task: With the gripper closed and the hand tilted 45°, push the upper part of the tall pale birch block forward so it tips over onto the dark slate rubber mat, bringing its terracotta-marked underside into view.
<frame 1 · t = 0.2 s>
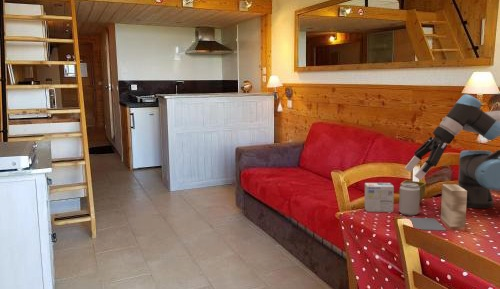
hand: (412, 174, 162), 15 cm above the table, tool tilted 35°, fingers open, 13 cm apart
mat: (421, 224, 148), on the table
light bulb box: (378, 210, 166), on the table
flower pot: (412, 203, 175), on the table
can: (408, 213, 161), on the table
birch block: (452, 225, 146), on the table
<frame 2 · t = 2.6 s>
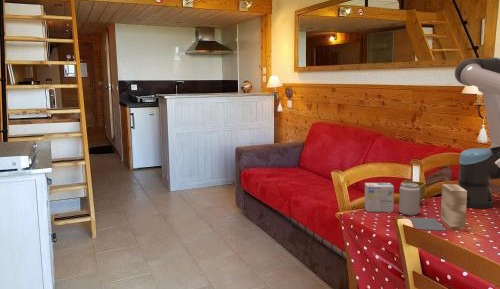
hand: (498, 165, 141), 22 cm above the table, tool tilted 45°, fingers closed
nothing on the table moved.
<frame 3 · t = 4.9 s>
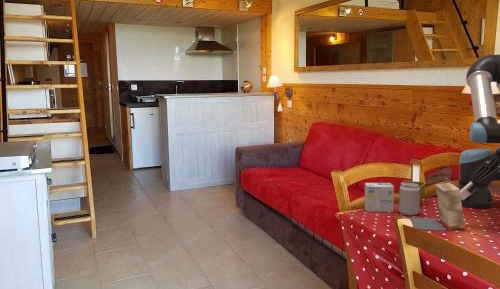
hand: (459, 197, 144), 11 cm above the table, tool tilted 45°, fingers closed
birch block: (452, 224, 146), on the table, tilted 10°
everything else where it was.
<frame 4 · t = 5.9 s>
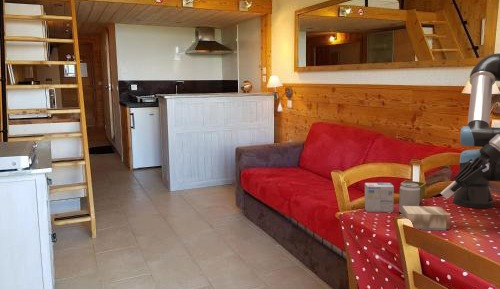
hand: (443, 196, 145), 11 cm above the table, tool tilted 45°, fingers closed
birch block: (445, 217, 146), point 3 cm above the table, tilted 90°, touching mat
everything else where it was.
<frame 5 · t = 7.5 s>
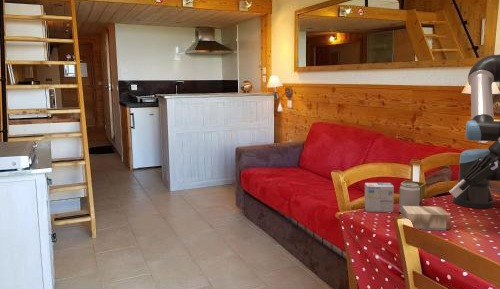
hand: (452, 194, 144), 11 cm above the table, tool tilted 45°, fingers closed
nothing on the table moved.
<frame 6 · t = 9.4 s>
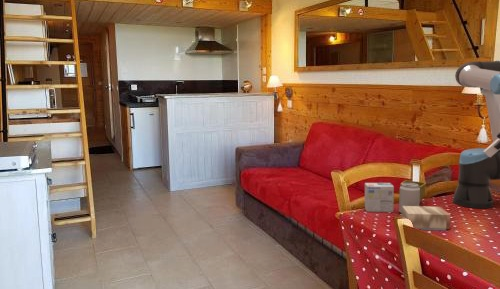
hand: (486, 154, 141), 26 cm above the table, tool tilted 45°, fingers closed
nothing on the table moved.
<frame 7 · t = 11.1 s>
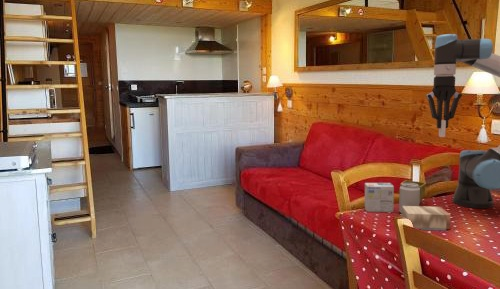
hand: (441, 136, 159), 30 cm above the table, tool pointing down, fingers closed
nothing on the table moved.
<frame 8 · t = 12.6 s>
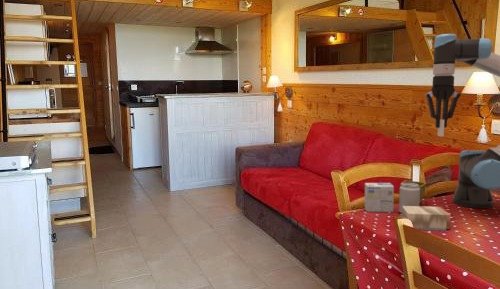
hand: (440, 136, 160), 30 cm above the table, tool pointing down, fingers closed
nothing on the table moved.
at the end: birch block tilted 90°; birch block inside the target area (1.0 cm from its centre), point 2.8 cm above the table; birch block touching mat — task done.
